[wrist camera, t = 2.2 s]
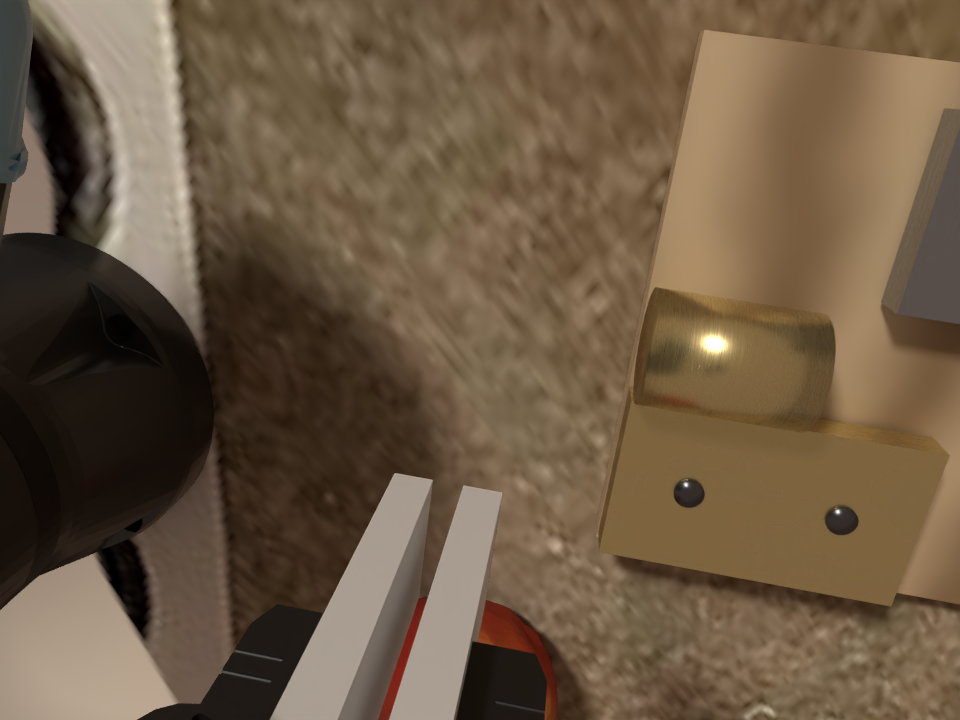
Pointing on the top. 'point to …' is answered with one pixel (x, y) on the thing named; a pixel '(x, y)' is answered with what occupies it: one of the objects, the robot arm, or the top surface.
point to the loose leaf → (759, 456)
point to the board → (820, 233)
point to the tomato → (495, 630)
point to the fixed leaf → (932, 236)
